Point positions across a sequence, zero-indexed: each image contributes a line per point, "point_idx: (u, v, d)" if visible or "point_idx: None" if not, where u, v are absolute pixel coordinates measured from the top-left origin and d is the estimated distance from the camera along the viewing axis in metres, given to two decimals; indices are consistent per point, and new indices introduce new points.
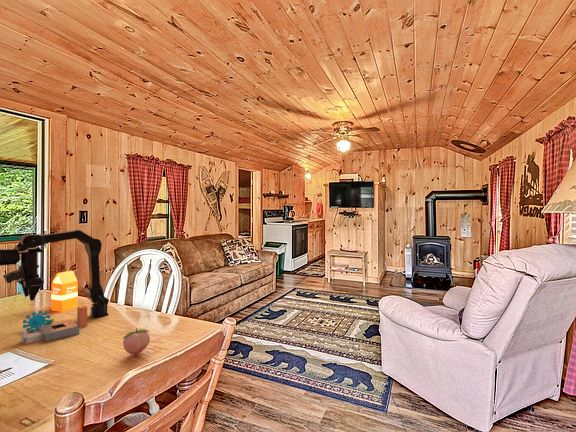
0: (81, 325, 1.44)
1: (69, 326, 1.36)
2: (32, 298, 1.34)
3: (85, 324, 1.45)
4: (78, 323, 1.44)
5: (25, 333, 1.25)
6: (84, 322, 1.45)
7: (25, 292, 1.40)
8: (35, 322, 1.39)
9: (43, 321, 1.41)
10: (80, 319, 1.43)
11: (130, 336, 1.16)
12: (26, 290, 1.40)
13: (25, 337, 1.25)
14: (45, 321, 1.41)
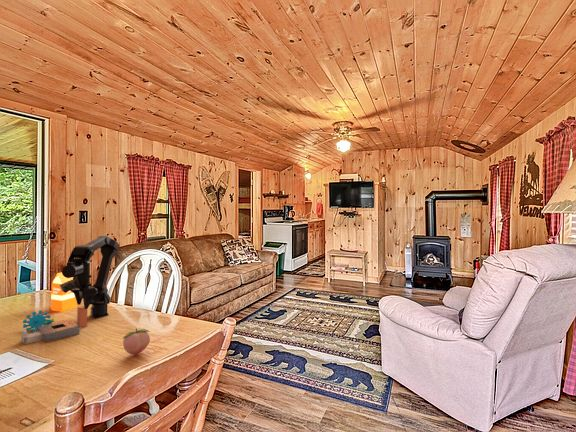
0: (81, 325, 1.44)
1: (69, 326, 1.36)
2: (86, 307, 1.42)
3: (85, 324, 1.45)
4: (78, 323, 1.44)
5: (25, 333, 1.25)
6: (84, 322, 1.45)
7: (77, 300, 1.47)
8: (35, 322, 1.39)
9: (43, 321, 1.41)
10: (80, 319, 1.43)
11: (130, 336, 1.16)
12: (78, 299, 1.48)
13: (25, 337, 1.25)
14: (45, 321, 1.41)
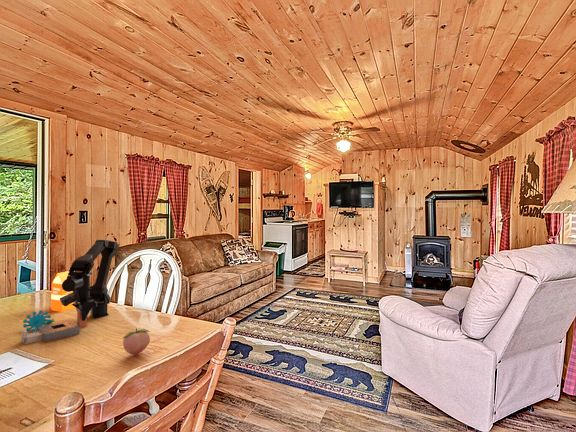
0: (81, 325, 1.44)
1: (69, 326, 1.36)
2: (84, 318, 1.44)
3: (85, 324, 1.45)
4: (78, 323, 1.44)
5: (25, 333, 1.25)
6: (84, 322, 1.45)
7: None
8: (35, 322, 1.39)
9: (43, 321, 1.41)
10: (80, 319, 1.43)
11: (130, 336, 1.16)
12: None
13: (25, 337, 1.25)
14: (45, 321, 1.41)
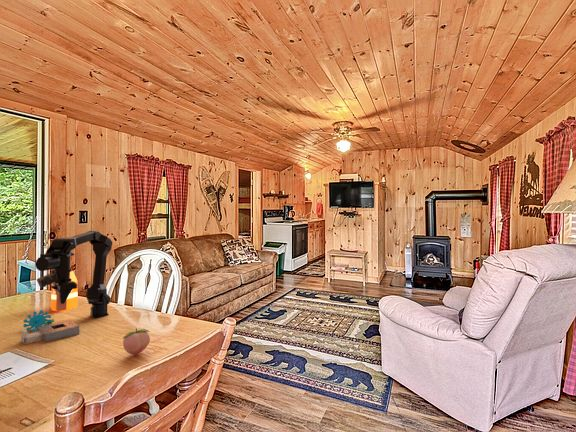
0: (60, 308, 1.35)
1: (69, 326, 1.36)
2: (63, 301, 1.35)
3: (64, 307, 1.36)
4: (57, 306, 1.35)
5: (25, 333, 1.25)
6: (63, 305, 1.36)
7: None
8: (35, 322, 1.40)
9: (43, 321, 1.41)
10: (59, 302, 1.34)
11: (130, 336, 1.16)
12: None
13: (25, 337, 1.25)
14: (45, 321, 1.41)
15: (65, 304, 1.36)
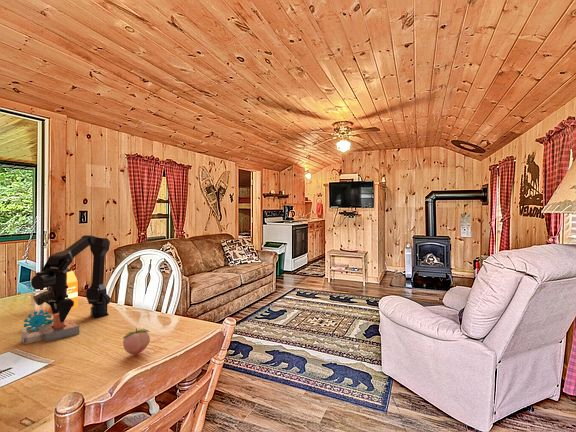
0: None
1: (69, 326, 1.36)
2: (62, 320, 1.32)
3: None
4: None
5: (25, 333, 1.25)
6: None
7: (53, 312, 1.38)
8: (36, 321, 1.40)
9: (44, 321, 1.41)
10: (56, 327, 1.34)
11: (130, 336, 1.16)
12: (54, 311, 1.38)
13: (25, 337, 1.25)
14: (45, 321, 1.42)
15: None
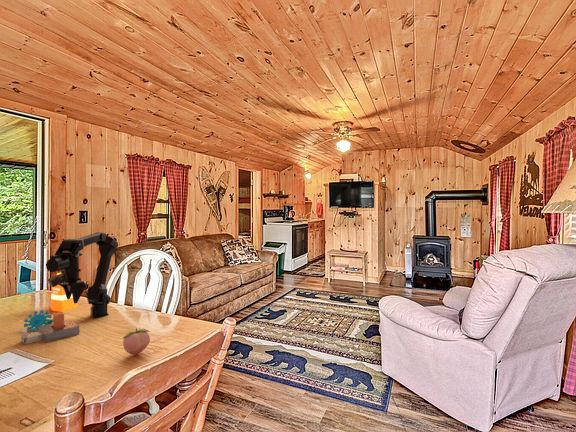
0: None
1: (69, 326, 1.36)
2: (76, 301, 1.39)
3: None
4: None
5: (25, 333, 1.25)
6: None
7: (67, 294, 1.44)
8: (36, 321, 1.40)
9: (44, 321, 1.41)
10: (56, 327, 1.34)
11: (130, 336, 1.16)
12: (67, 293, 1.45)
13: (25, 337, 1.25)
14: (46, 321, 1.42)
15: None
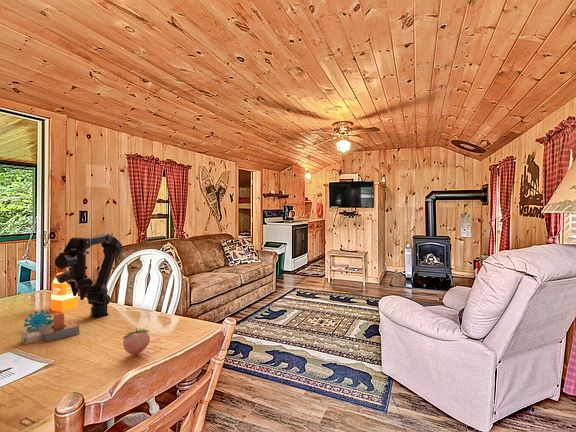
0: None
1: (69, 326, 1.36)
2: (82, 298, 1.42)
3: None
4: None
5: (25, 333, 1.25)
6: None
7: (73, 292, 1.48)
8: (36, 321, 1.40)
9: (44, 320, 1.42)
10: (56, 327, 1.34)
11: (130, 336, 1.16)
12: (74, 290, 1.48)
13: (25, 337, 1.25)
14: (46, 321, 1.42)
15: None
